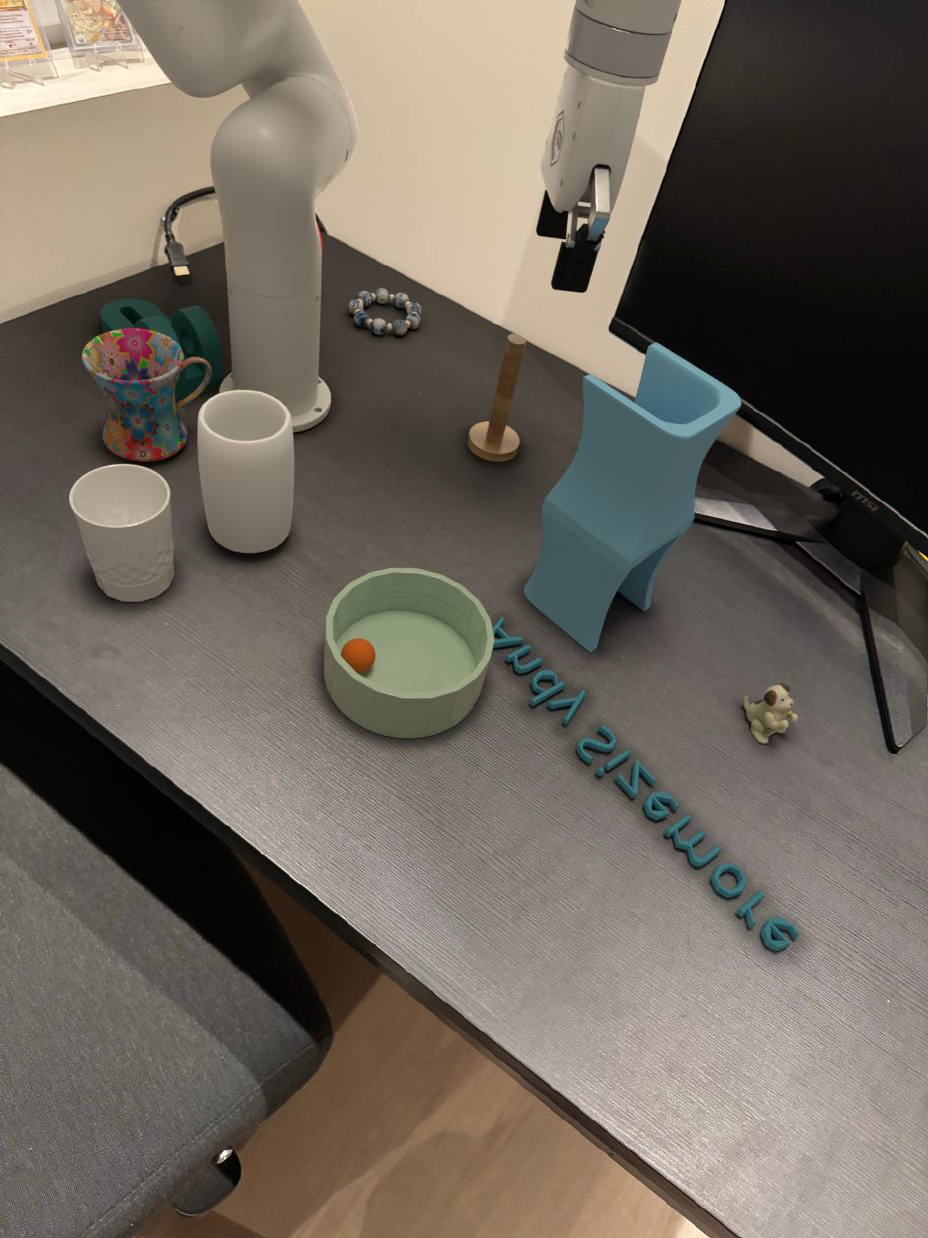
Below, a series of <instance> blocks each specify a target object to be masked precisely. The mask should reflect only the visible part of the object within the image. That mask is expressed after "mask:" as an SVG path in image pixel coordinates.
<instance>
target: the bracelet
mask: <svg viewBox="0 0 928 1238" xmlns="http://www.w3.org/2000/svg"><path fill="white" fill-rule="evenodd" d="M409 298H410V297H409V296H408V295H407V293H404V292H399V293H397V294H395V295H394V294H393V293H391V294H390V293H389V291H388V290H387V289H386V288H383V287H380V288H378V289H376V290H375V292H373V293H372V292H369V291H366V290H360V291H359V292H358V293H357V295H356V299H352V300H350V302H349V303H348V305H347V307H348V312H349V313H350V314H351V315H353V321H354V323H355V324H356V326H358V327H366V326H368V327H370V328H371V331H372V332H373V334H376V335H378V336H379V335H383V334H384V333H385V332H387V331H388V332H391V331H392V332H393V333H394V334H395V335H396V336H403V335H405V334H406V333H407V331H408V329H412V330H415V329H417V328H419V327H420V325H421V322H422V320H421V316H420V315H421V313H422V308H421V305H420V304H419V303H418V302H410V299H409ZM372 301H376V303H378V304H380V305H383V304H384V305H385V304H387V303H388V302H391V303H393V304H394V305H395V307H397V308H398V309H406V311H405V312H406V314H407V316H406V317H405V320H404V319H399V318H398V319H395V320H394V321H393V322H392V323H390V322H389V323H387V322H386V320H384V319H383V318H379V317H378V318H375V319H372V318H370V315H369V314H368V312H367V311H365V310H364V307H368V306H370V305H371V303H372Z"/></svg>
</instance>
